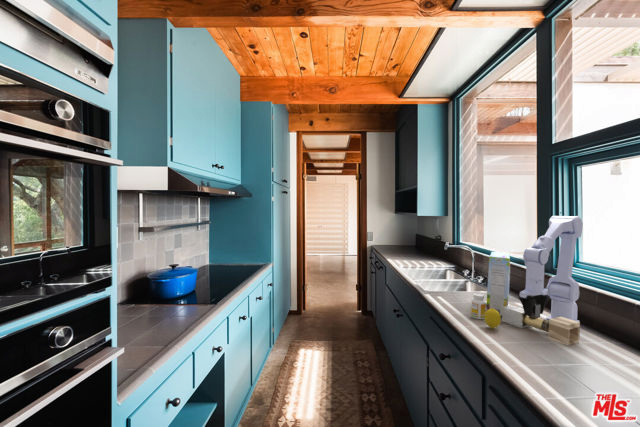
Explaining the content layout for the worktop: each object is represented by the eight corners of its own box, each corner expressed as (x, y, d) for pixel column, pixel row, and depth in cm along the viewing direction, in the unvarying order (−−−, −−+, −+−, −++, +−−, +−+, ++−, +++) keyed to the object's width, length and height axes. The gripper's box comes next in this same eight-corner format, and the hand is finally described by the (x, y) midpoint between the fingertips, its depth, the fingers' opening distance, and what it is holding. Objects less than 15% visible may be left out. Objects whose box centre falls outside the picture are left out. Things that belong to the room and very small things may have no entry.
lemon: (502, 332, 117) (503, 311, 116) (486, 330, 118) (487, 309, 117) (497, 326, 122) (498, 306, 122) (482, 325, 123) (482, 305, 123)
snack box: (508, 318, 132) (510, 258, 131) (485, 314, 136) (487, 256, 136) (508, 305, 150) (510, 252, 150) (488, 302, 155) (490, 250, 154)
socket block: (560, 335, 114) (560, 316, 114) (579, 342, 109) (579, 322, 109) (548, 338, 112) (549, 319, 111) (567, 345, 106) (568, 325, 106)
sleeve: (511, 319, 131) (512, 305, 131) (531, 326, 123) (531, 311, 123) (502, 321, 128) (502, 306, 128) (521, 328, 121) (522, 312, 121)
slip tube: (510, 317, 130) (510, 296, 130) (553, 331, 115) (554, 307, 115) (503, 318, 129) (504, 296, 128) (546, 333, 114) (547, 309, 113)
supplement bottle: (484, 316, 134) (484, 293, 134) (486, 320, 129) (487, 297, 129) (470, 314, 136) (470, 292, 136) (472, 318, 131) (472, 295, 130)
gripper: (533, 283, 113) (532, 320, 113) (557, 280, 119) (556, 315, 119) (514, 278, 119) (513, 314, 120) (538, 276, 125) (537, 309, 126)
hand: (533, 314), depth 120 cm, fingers open, 6 cm apart
